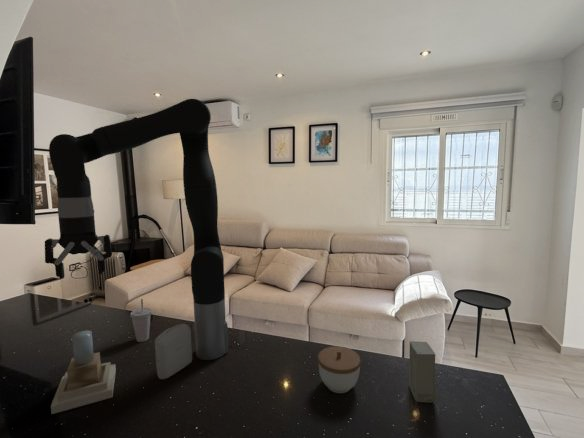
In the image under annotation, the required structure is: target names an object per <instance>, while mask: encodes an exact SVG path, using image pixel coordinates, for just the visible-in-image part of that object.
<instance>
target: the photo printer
mask: <svg viewBox="0 0 584 438" xmlns="http://www.w3.org/2000/svg"><path fill="white" fill-rule="evenodd" d="M192 347H193V346H192V332H191V328H190V326H189V325H188V324H186V323H181V324H177V325H172V327H169V328H167V329H165V330H164V331H163V332H161V333H160V334H159V335H158V336H157V337H156V338H155V339H154V348H155V350H154V352H155V365H156V366H155V367H156V374H157V377H158V379H159V380H166V379H168V378H170V377H171V376H174V375H175V374H177V373H178V372H180V371H181V370H183V369H184V368H186V367H187V366H189V365H190V364H191V363H192V362H193V351H192V349H193V348H192Z"/></svg>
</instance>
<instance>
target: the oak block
mask: <svg viewBox="0 0 584 438" xmlns="http://www.w3.org/2000/svg"><path fill="white" fill-rule="evenodd" d="M93 353H94V359H93V361H91V362H90V363H88V364H85V365H75V361H74V357H72V358H71V360H70V363H69V365H68V367H67V371H66V372H67V375H68V385H69V390H73V389H76V388H80V387H84V386H88V385H92V384H96V383H100V378H101V364H102V362H101V353H100V351H99V352H93Z"/></svg>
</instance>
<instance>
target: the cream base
mask: <svg viewBox="0 0 584 438" xmlns="http://www.w3.org/2000/svg"><path fill="white" fill-rule="evenodd" d="M116 367H117V366H116V364H115V363H114V364H113V363H111V361H109V362H103V363H101V378H100V383H96V384H92V385H88V386H84V387H80V388H76V389H73V390H69V385H68V375H67V371H66V372H65V373H64V375H63V376H62V378H61V380H60V382H59V385H58V387H57V390H56V392H55V395H54V397H53V399H52V402H51V405H50V412H51V415H53V414H57V413H61V412H65V411H69V410H72V409H75V408H79V407H82V406H86V405H90V404H93V403H97V402H101V401H104V400H107V399H108V400H109V399H112V398H113V396H114V387H115V380H116V373H117V372H116V371H117V369H116Z"/></svg>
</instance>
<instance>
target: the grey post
mask: <svg viewBox="0 0 584 438" xmlns="http://www.w3.org/2000/svg"><path fill="white" fill-rule="evenodd" d="M71 339H72V349H73V350H72V351H73V358H74V361H75V365H85V364H88V363H90V362H91V361H93V359H94V353H95V352H94V345H93V333H92V330H82V331H78V332H76V333H74V334H73V335H72V338H71Z"/></svg>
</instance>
